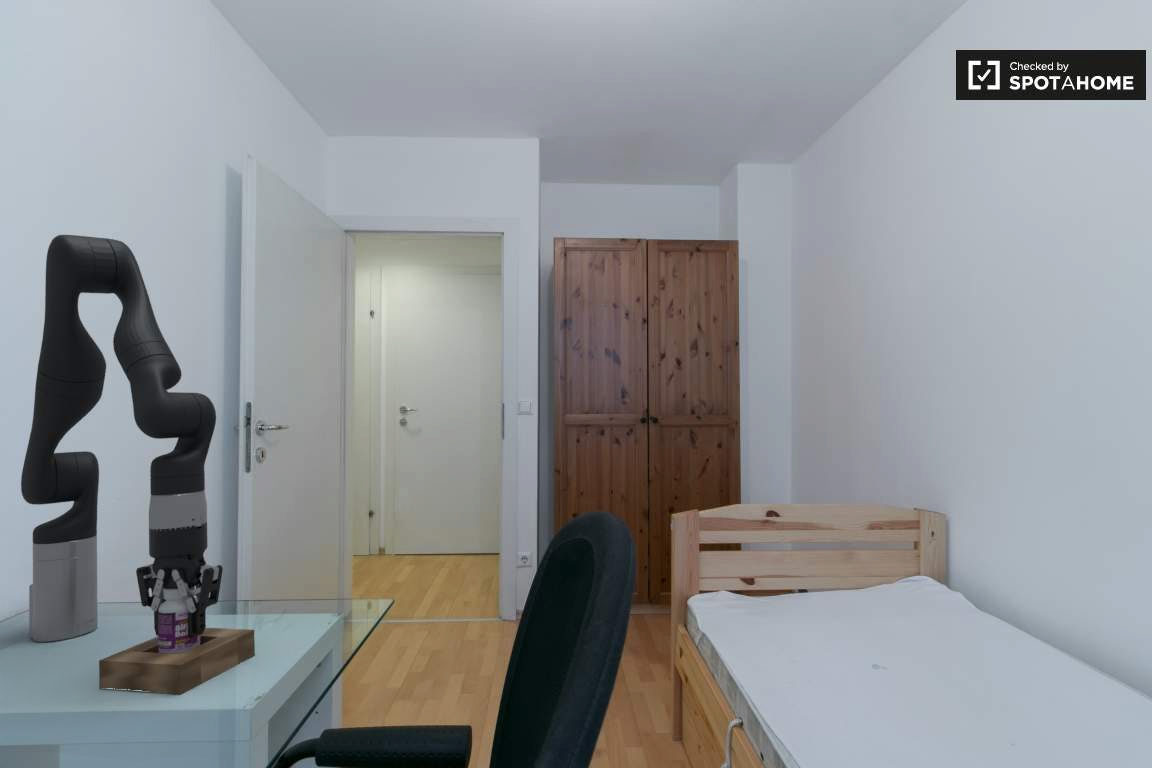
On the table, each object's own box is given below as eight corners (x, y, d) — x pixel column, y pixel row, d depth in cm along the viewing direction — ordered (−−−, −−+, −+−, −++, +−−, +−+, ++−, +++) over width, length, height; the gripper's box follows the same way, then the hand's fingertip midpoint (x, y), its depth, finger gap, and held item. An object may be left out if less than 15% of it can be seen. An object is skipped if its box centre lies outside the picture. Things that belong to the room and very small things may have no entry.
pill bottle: (180, 659, 91) (179, 592, 91) (149, 657, 92) (148, 591, 92) (209, 645, 96) (208, 582, 97) (179, 644, 97) (179, 581, 98)
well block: (99, 688, 89) (99, 660, 89) (182, 651, 102) (181, 626, 102) (180, 694, 85) (179, 665, 86) (254, 655, 99) (254, 629, 99)
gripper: (117, 527, 93) (118, 642, 92) (197, 526, 90) (199, 646, 89) (161, 518, 100) (163, 625, 99) (237, 518, 97) (239, 628, 96)
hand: (180, 634), depth 94 cm, fingers closed on pill bottle, 5 cm apart
